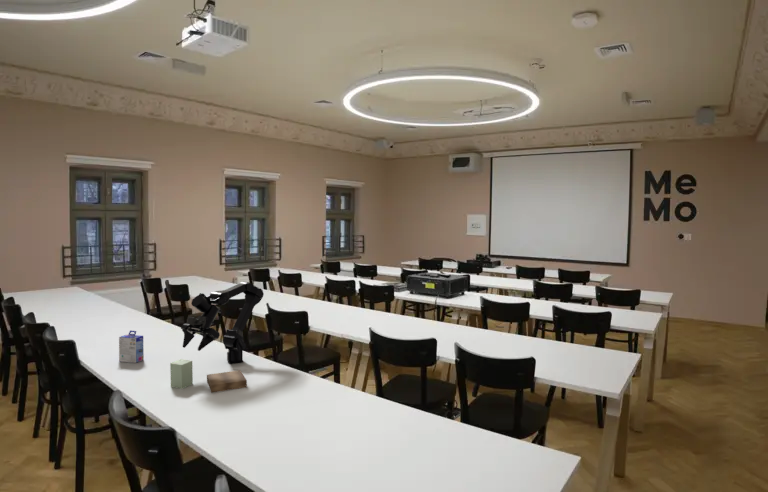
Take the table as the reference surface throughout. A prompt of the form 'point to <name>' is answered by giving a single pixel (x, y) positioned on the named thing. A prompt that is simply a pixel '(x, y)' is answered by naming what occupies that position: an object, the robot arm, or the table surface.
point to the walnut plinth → (226, 381)
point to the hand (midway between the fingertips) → (190, 348)
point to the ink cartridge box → (131, 348)
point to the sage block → (181, 373)
